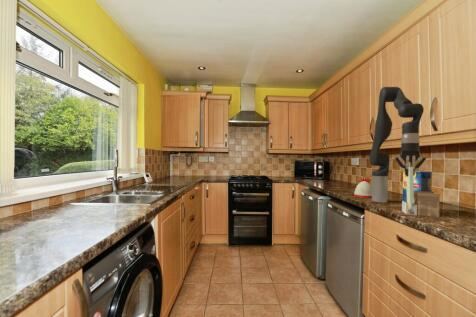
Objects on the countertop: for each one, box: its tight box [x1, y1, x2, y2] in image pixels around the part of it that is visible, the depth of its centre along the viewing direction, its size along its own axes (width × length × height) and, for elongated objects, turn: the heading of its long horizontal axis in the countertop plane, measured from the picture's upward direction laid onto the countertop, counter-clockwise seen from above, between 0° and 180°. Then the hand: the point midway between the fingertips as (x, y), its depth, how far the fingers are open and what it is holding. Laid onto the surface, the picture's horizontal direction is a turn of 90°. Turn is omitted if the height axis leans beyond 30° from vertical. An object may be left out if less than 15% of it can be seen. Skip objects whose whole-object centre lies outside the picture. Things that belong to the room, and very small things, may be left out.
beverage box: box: [402, 170, 433, 210], centre depth 130 cm, size 7×11×22 cm, turn 11°
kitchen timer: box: [353, 176, 372, 199], centre depth 181 cm, size 14×14×15 cm
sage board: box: [407, 166, 414, 203], centre depth 121 cm, size 6×2×18 cm, turn 156°
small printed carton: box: [401, 200, 418, 216], centre depth 122 cm, size 10×4×6 cm, turn 155°
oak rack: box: [414, 191, 440, 218], centre depth 119 cm, size 9×8×12 cm
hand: (409, 176), depth 122 cm, fingers closed on sage board, 1 cm apart
